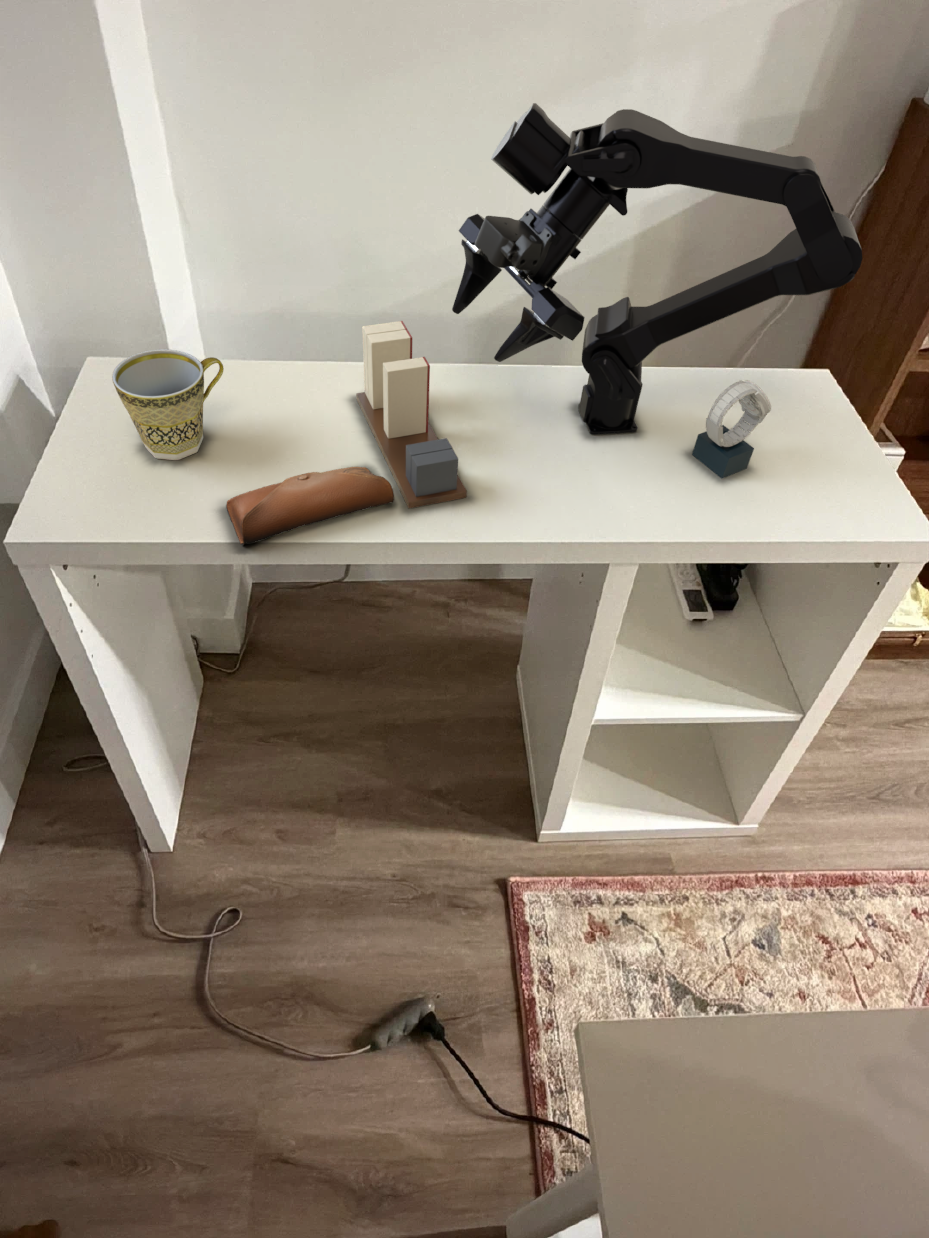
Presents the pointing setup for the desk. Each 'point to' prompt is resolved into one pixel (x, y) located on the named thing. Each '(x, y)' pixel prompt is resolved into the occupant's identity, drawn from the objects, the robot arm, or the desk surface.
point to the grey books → (431, 467)
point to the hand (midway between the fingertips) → (475, 336)
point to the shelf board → (403, 456)
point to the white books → (382, 355)
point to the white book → (406, 397)
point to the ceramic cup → (165, 399)
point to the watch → (728, 446)
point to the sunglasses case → (305, 501)
